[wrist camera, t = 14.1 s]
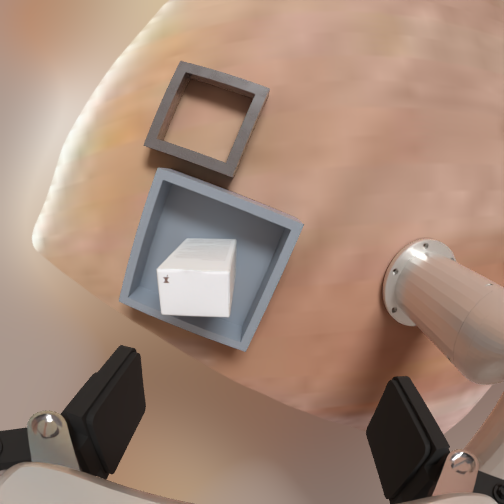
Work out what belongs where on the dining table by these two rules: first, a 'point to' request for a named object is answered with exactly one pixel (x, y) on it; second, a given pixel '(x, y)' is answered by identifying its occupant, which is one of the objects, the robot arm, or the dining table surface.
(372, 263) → the dining table surface
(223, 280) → the skincare box
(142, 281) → the bin
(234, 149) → the collar
